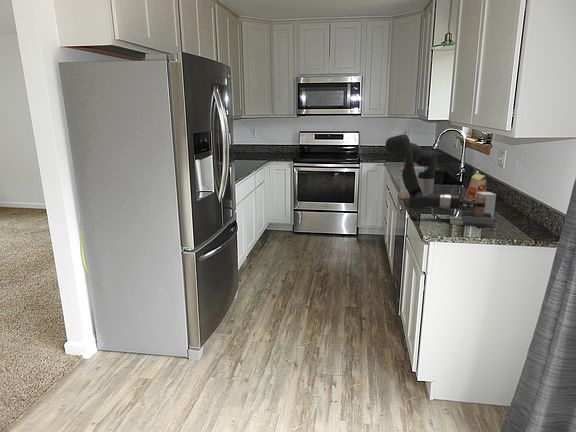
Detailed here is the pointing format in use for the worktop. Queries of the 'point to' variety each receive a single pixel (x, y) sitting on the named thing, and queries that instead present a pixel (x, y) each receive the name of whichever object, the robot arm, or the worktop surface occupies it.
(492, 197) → the supplement box
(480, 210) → the yam
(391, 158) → the worktop surface
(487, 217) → the cart bed
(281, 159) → the worktop surface
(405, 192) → the cracker box
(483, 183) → the milk carton
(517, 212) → the worktop surface
